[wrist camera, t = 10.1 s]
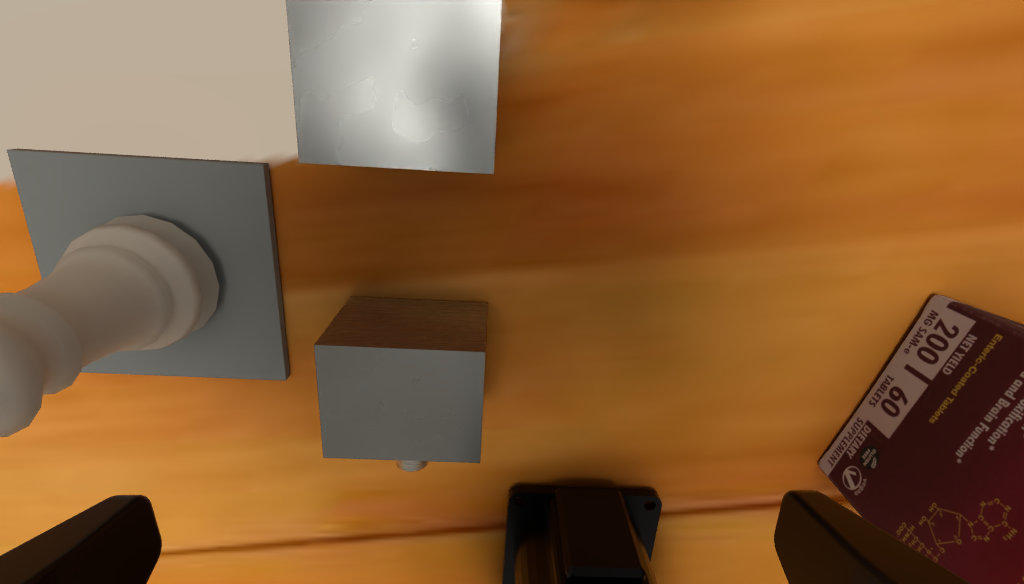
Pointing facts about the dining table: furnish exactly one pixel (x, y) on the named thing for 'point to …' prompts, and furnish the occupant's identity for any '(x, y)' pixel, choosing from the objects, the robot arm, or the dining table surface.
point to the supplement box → (944, 444)
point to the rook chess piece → (100, 308)
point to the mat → (199, 213)
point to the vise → (403, 145)
